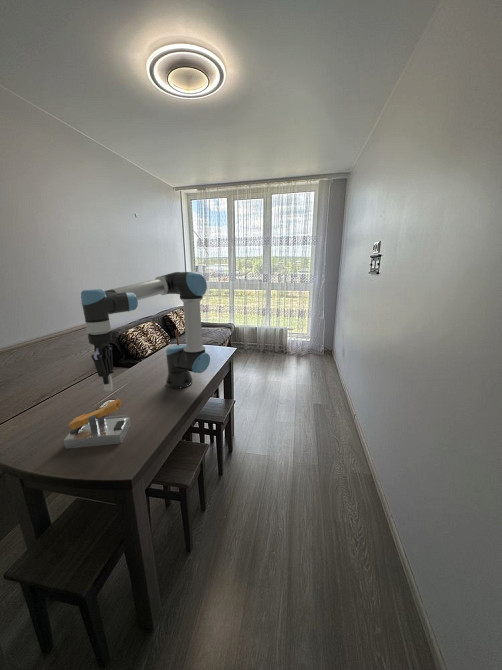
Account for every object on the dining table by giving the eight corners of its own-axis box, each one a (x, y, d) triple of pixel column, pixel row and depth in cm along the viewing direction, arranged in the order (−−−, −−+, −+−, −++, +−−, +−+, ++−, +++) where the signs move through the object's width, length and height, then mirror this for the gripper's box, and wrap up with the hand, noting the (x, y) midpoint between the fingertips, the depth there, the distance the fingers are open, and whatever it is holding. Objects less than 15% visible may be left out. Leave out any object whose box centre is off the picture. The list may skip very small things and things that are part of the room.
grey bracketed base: (130, 425, 110) (127, 402, 108) (121, 443, 99) (117, 418, 96) (81, 429, 108) (76, 406, 105) (65, 448, 96) (59, 423, 93)
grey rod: (127, 418, 116) (127, 414, 115) (126, 420, 114) (125, 416, 113) (92, 421, 114) (92, 417, 113) (90, 423, 112) (89, 419, 111)
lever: (121, 403, 104) (118, 398, 103) (117, 409, 99) (114, 404, 98) (78, 422, 103) (75, 417, 102) (72, 430, 98) (68, 424, 98)
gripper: (96, 328, 99) (105, 383, 105) (79, 337, 86) (91, 399, 92) (116, 327, 100) (124, 382, 106) (102, 336, 87) (112, 397, 93)
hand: (109, 390), depth 99 cm, fingers closed
